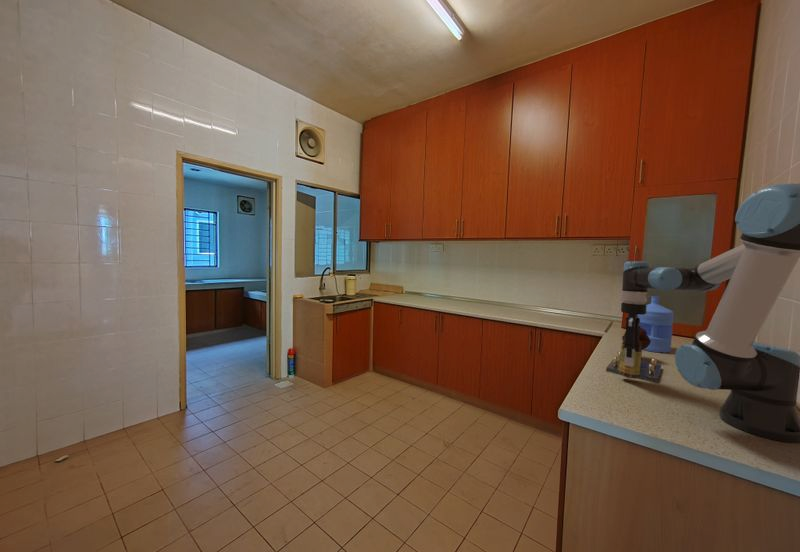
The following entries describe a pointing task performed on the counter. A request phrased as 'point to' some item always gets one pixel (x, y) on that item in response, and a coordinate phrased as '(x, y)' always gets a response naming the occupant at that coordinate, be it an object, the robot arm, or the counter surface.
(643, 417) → the counter surface
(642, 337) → the ice cream bowl
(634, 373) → the sauce bottle
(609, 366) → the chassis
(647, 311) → the water jug
